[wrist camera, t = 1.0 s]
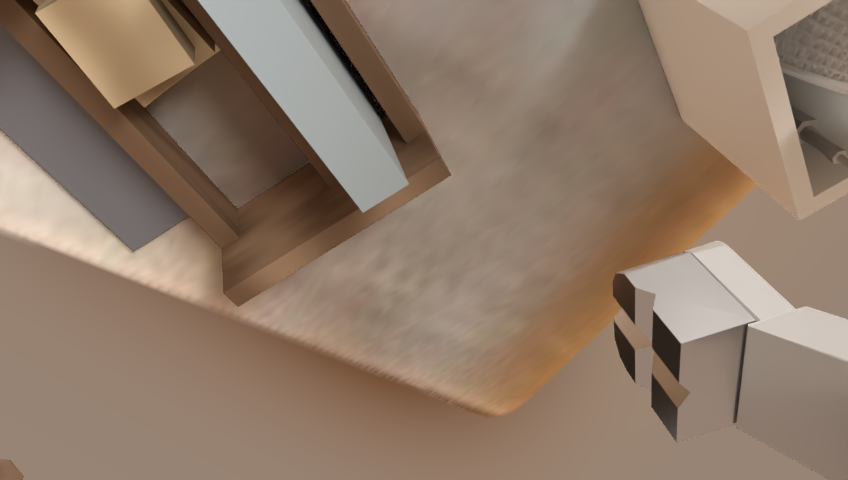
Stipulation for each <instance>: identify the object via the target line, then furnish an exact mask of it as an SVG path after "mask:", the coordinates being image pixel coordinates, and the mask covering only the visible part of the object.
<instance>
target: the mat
mask: <svg viewBox="0 0 848 480" xmlns="http://www.w3.org/2000/svg"><path fill="white" fill-rule="evenodd" d="M0 129H1V130H2V131H3V132H4V133H5V134H6V135H7V136H9V137H10V138H11V139H12V140H13V141H14V142H15V143H16V144H17V145H18V146H19V147H21V148H22V149H23V150H24V151H25V152H26V153H27V154H28V155H29V156H30V157H31V158H33V159H34V160H35V161H36V162H37V163H38V164H39V165H40V166H41V167H42V168H43V169H44V170H46V171H47V172H48V173H49V174H50V175H51V176H52V177H53V178H54V179H55V180H56V181H58V182H59V183H60V184H61V185H62V186H63V187H64V188H65V189H66V190H67V191H68V192H70V193H71V194H72V195H73V196H74V197H75V198H76V199H77V200H78V201H79V202H80V203H82V204H83V205H84V206H85V207H86V208H87V209H88V210H89V211H90V212H91V213H92V214H94V215H95V216H96V217H97V218H98V219H99V220H100V221H101V222H102V223H103V224H104V225H105V226H107V227H108V228H109V229H110V230H111V231H112V232H113V233H114V234H115V235H116V236H117V237H119V238H120V239H121V240H122V241H123V242H124V243H125V244H126V245H127V246H128V247H129V248H131V249H132V250H133V251H135V250H136V249H138V248H140V247H141V246H143V245H144V244H146V243H147V242H149V241H151V240H152V239H154V238H155V237H157V236H158V235H160V234H161V233H163V232H165V231H166V230H168V229H169V228H171V227H172V226H174V225H176V224H177V223H179V222H180V221H182V220H183V219H185V218H187V217H188V216H189V215H188V214H187V213H186V212H185V211H184V210H183V209H182V208H181V207H180V206H179V205H178V204H177V203H176V202H175V201H174V200H173V199H172V198H171V197H170V196H169V195H168V194H167V193H166V191H165V190H164V189H163V188H162V187H161V186H160V185H159V184H158V183H157V182H156V181H155V180H154V179H153V178H152V177H151V176H150V175H149V174H148V173H147V172H146V171H145V170H144V169H143V168H142V167H141V166H140V165H139V164H138V163H137V162H136V161H135V160H134V159H133V158H132V157H131V156H130V155H129V154H128V153H127V152H126V151H125V150H124V149H123V148H122V147H121V146H120V145H119V144H118V143H117V142H116V140H115V139H114V138H113V137H112V136H111V135H110V134H109V133H108V132H107V131H106V130H105V129H104V128H103V127H102V126H101V125H100V124H99V123H98V122H97V121H96V120H95V119H94V118H93V117H92V116H91V115H90V114H89V113H88V112H87V111H86V110H85V109H84V108H83V107H82V106H81V105H80V104H79V103H78V102H77V101H76V100H75V99H74V98H73V97H72V96H71V95H70V94H69V93H68V92H67V91H66V89H65V88H64V87H63V86H62V85H61V84H60V83H59V82H58V81H57V80H56V79H55V78H54V77H53V76H52V75H51V74H50V73H49V72H48V71H47V70H46V69H45V68H44V67H43V66H42V65H41V64H40V63H39V62H38V61H37V60H36V59H35V58H34V57H33V56H32V55H31V54H30V53H29V52H28V51H27V50H26V49H25V48H24V47H23V46H22V45H21V44H20V43H19V42H18V41H17V40H16V39H15V37H14V36H13V35H12V34H11V33H10V32H9V31H8V30H7V29H6V28H5V27H4V26H3V25H2V24H1V23H0Z"/></svg>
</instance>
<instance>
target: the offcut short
mask: <svg viewBox="0 0 848 480" xmlns="http://www.w3.org/2000/svg"><path fill="white" fill-rule="evenodd" d="M35 14H36V15H37V16H38V18H39V19H40V20H41V21H42V22H43V24H44V25H45V26H46V27H47V28H48V30H49V31H50V32H51V33H52V34H53V36H54V37H55V38H56V39H57V40H58V42H59V43H60V44H61V45H62V46H63V48H64V49H65V50H66V51H67V52H68V54H69V55H70V56H71V57H72V58H73V60H74V61H75V62H76V63H77V64H78V66H79V67H80V68H81V69H82V71H83V72H84V73H85V74H86V75H87V77H88V78H89V79H90V80H91V81H92V83H93V84H94V85H95V86H96V87H97V89H98V90H99V91H100V92H101V93H102V95H103V96H104V97H105V98H106V99H107V101H108V102H109V103H110V104H111V105H112V107H113V108H114V109H115V108H117V107H118V106H120V105H122V104H124V103H126V102H128V101H129V100H131V99H133V98H135V97H137V96H138V95H140V94H142V93H144V92H146V91H147V90H149V89H151V88H153V87H155V86H156V85H158V84H160V83H162V82H164V81H166V80H167V79H169V78H171V77H173V76H175V75H176V74H178V73H180V72H182V71H184V70H185V69H187V68H189V67H191V66H193V65H194V64H195V47H194V46H193V44H192V43H191V41H190V40H189V38H188V37H187V36H186V34H185V33H184V31H183V30H182V29H181V27H180V26H179V24H178V23H177V21H176V20H175V19H174V17H173V16H172V14H171V13H170V12H169V10H168V9H167V7H166V6H165V4H164V3H163V2H162V0H42V1H41V3H40V5H39V6H38V8H37V10H36V12H35Z"/></svg>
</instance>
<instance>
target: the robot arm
mask: <svg viewBox="0 0 848 480" xmlns="http://www.w3.org/2000/svg"><path fill="white" fill-rule="evenodd" d="M613 296H614V298H615V299H616V300H617V302H618V303H619V304H620V306H621V307H622V308H621V310H620V311H619V313H618V314H617V316H616V317H615V319H614V333H615V341H616V344H617V348H618V351H619V355H620V358H621V360H622V362H623V364H624V366H625V368H626V370H627V371H628V373H629V374H630V376H631V377H632V379H633V380H634V382H635V383H636V384H638V385H640V386H642V387H645V388H647V389H649V390H651V392H652V393H651V394H652V395H651V398H652V399H651V403H652V404H651V405H652V406H651V407H652V408H653V410H654V411H655V413H656V414H657V415H658V417H659V418H660V420H661V421H662V422H663V424H664V425H665V427H666V428H667V430H668V431H669V433H670V434H671V435H672V437H673V438H674V440H675V441H676V442H680V441H684V440H687V439H690V438H694V437H697V436H700V435H704V434H707V433H710V432H713V431H717V430H720V429H723V428H727V427H730V426H733V425H736V428H737V429H739V430H741V431H743V432H744V433H746V434H748V435H750V436H752V437H753V438H755V439H757V440H758V441H760V442H762V443H764V444H766V445H767V446H769V447H771V448H773V449H775V450H776V451H778V452H780V453H782V454H783V455H785V456H787V457H789V458H791V459H792V460H794V461H796V462H798V463H800V464H801V465H803V466H805V467H807V468H809V469H810V470H812V471H814V472H816V473H818V474H819V475H821V476H823V477H825V478H826V479H828V480H848V319H844V318H841V317H838V316H835V315H832V314H829V313H825V312H823V311H819V310H816V309H813V308H810V307H807V306H806V307H802V308H799V309H795V308H794V307H793V306H792V305H791V304H790V303H789V302H787V300H785V299H784V298H783V297H782V296H781V295H780V294H779V293H778V292H777V291H776V290H775V289H774V288H773V287H771V286H770V285H769V284H768V283H767V282H766V281H765V280H764V279H763V278H762V277H761V276H760V275H759V274H758V273H756V272H755V271H754V270H753V269H752V268H751V267H750V266H749V265H748V264H747V263H746V262H745V261H744V260H743V259H741V258H740V257H739V256H738V255H737V254H736V253H735V252H734V251H733V250H732V249H731V248H730V247H729V246H728V245H727V244H725V243H723V242H720V241H714V242H711V243H708V244H705V245H702V246H698V247H695V248H692V249H689V250H686V251H684V252H683V253H678V254H675V255H671V256H668V257H665V258H662V259H659V260H655V261H652V262H649V263H646V264H643V265H639V266H636V267H633V268H630V269H626V270H623V271H620V272H617V273H616V274H615V277H614V280H613ZM23 477H24V476H23V474H22V473H21V472H20V471H19V470H18V468H17V467H16V466H15V465H14V464H13V462H12V461H11V460H6V459H0V480H23Z"/></svg>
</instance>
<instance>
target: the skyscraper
mask: <svg viewBox="0 0 848 480" xmlns="http://www.w3.org/2000/svg"><path fill="white" fill-rule="evenodd" d="M773 38H774V42H775V46H776V50H777V54H778V58H779V62H780V66H781V70H782V73H785V74H788V75H790V76H793V77H796V78H798V79H801V80H804V81H806V82H809V83H812V84H815V85H818V86H820V87H823V88H826V89H829V90H832V91H835V92H838V93H841V94H844V95H846V96H848V0H833V1H831V2H829V3H828V4H826V5H824V6H823V7H821V8H820V9H818V10H816V11H815V12H813V13H811V14H810V15H808V16H806V17H805V18H803V19H801V20H800V21H798V22H796V23H795V24H793V25H792V26H790V27H788V28H787V29H785V30H783V31H782V32H780V33H778V34H777V35H775V36H773ZM791 109H792V113H793V117H794V121H795V125H796V129H797V133H798V137H799V141H800V144H804V143H808V144H810V145H811V146H813V147H815V148H816V149H818V150H819V151H821V152H822V153H823V154H824V155H825V156H826V157H827V158H828V159H829V160H830V161H831V162H832V163H833V164H839V163H842V164H843V165H845V166H846V167H848V158H846V157H847V153H846V150H844V149H843V148H841V147H839V146H837V145H836V144H834V143H832V142H830V141H829V140H828V139H827V138H826V137H825V136H823V135H822V134H821V133H820V132H819V126H818V122H817V119H815V118H813V117H811V116H809V115H807V114H806V113H804V112H802V111H800V110H798V109H797V108H795V107H793V106H792V105H791Z"/></svg>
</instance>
